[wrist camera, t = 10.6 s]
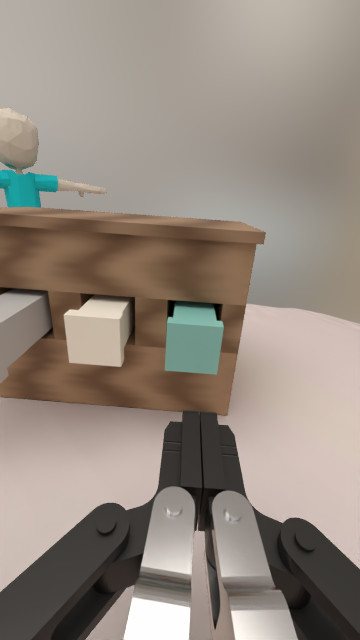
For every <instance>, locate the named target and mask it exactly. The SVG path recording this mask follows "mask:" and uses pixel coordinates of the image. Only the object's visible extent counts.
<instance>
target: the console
mask: <svg viewBox="0 0 360 640" xmlns="http://www.w3.org/2000/svg"><path fill="white" fill-rule="evenodd" d="M265 234H266V233H265V232H264V231H261V230H259V229H256V228H254V227H252V226H249V225H247V224H245V223H242V222H234V221H221V220H206V219H193V218H178V217H163V216H150V215H136V214H122V213H107V212H94V211H93V212H92V211H80V210H64V209H50V208H37V207H7V208H0V295H2V294H4V293H6V292H8V291H10V290H12V289H14V288H20V289H33V290H46V291H48V295H49V303H50V310H51V317H52V324H53V328H51V329H50V330H49V331H48V332H47V333H46V334H45V335H44V336H42V337H41V338H40V339H39V340H38V341H37V342H36V343H35V344H33V345H32V346H31V347H30V348H29V349H28V350H27V351H26V352H25V353H23V354H22V355H21V356H20V357H19V358H18V359H17V360H16V361H14V362H13V363H12V364H11V365H10V366H9V367H8V368H7V371H8V375H9V376H8V377H7V378H6V379H5V380H3V381H2V382H1V383H0V397H10V398H22V399H34V400H46V401H59V402H71V403H83V404H95V405H108V406H120V407H132V408H144V409H157V410H169V411H181V412H183V410H190V411H199V413H200V411H205V412H216V414H218V415H227V412H228V407H229V401H230V395H231V389H232V383H233V378H234V372H235V366H236V360H237V354H238V349H239V343H240V337H241V331H242V325H243V320H244V314H245V308H246V302H247V296H248V291H249V285H250V279H251V273H252V267H253V262H254V256H255V250H256V244H264V239H265ZM95 294H99V295H113V296H126V297H135V326H134V328H133V330H132V332H131V334H130V336H129V338H128V340H127V342H126V345H125V347H124V361H123V363H122V366H121V367H116V366H103V365H91V364H78V363H69V357H68V348H67V340H66V331H65V323H64V314H65V313H66V312H67V311H69V310H70V309H71V310H79V309H80V308H81V307H82V306H83V305H84V304H85V303H86V302H87V301H88V300H89V299H90V298H92V297H93V296H94V295H95ZM176 300H179V301H192V302H206V303H213V305H214V310H215V315H216V320H217V321H222V322H223V326H224V329H223V336H222V343H221V350H220V357H219V364H218V371H217V375H215V374H202V373H190V372H177V371H165V354H166V334H167V321H168V317H173V315H174V309H175V303H176Z"/></svg>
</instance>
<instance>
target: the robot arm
mask: <svg viewBox="0 0 360 640" xmlns="http://www.w3.org/2000/svg"><path fill="white" fill-rule="evenodd" d="M197 522H198V531H205V551H204V563H205V573H206V583H207V593H208V603H209V613H210V623H211V637H212V640H360V569H359V568H358V567H357V566H356V565H355V564H354V563H353V562H351V561H350V560H349V559H348V558H347V557H346V556H345V555H344V554H343V553H342V552H341V551H340V550H339V549H338V548H337V547H336V546H335V545H334V544H333V543H332V542H331V541H330V540H328V539H327V538H326V537H325V536H324V535H323V534H322V533H321V532H320V531H319V530H318V529H317V528H316V527H315V526H314V525H312V524H311V523H309V522H308V521H306V520H304V519H301V518H290V519H287V520H286V521H285V522H284V523H281V522H279V521H276V520H274V519H272V518H269V517H267V516H265V515H263V514H261V513H260V512H258V511H257V510H256V509H255V508H254V507H253V506H252V505H251V503H250V502H249V500H248V499H247V496H246V493H245V489H244V484H243V478H242V473H241V468H240V463H239V457H238V452H237V448H236V441H235V436H234V434H233V432H232V431H231V429H230V428H229V426H228V425H218V421H217V414H216V412H205V411H200V414H199V411H190V410H183V415H182V422H172V421H170V423H169V425H168V426H167V428H166V429H165V433H164V442H163V451H162V459H161V468H160V477H159V485H158V489H157V492H156V494H155V495H154V497H153V498H152V499H151V500H150V501H149V502H148V503H146V504H144V505H143V506H140V507H137V508H133V509H129V510H125V509H124V508H123V507H122V506H121V505H119V504H116V503H106V504H102V505H100V506H98V507H97V508H95V509H94V510H93V511H92V512H91V513H89V514H88V515H87V516H86V517H85V518H84V519H83V520H81V521H80V522H79V523H78V524H77V525H76V526H75V527H74V528H72V529H71V530H70V531H69V532H68V533H67V534H66V535H64V536H63V537H62V538H61V539H60V540H59V541H58V542H57V543H55V544H54V545H53V546H52V547H51V548H50V549H49V550H48V551H46V552H45V553H44V554H43V555H42V556H41V557H40V558H38V559H37V560H36V561H35V562H34V563H33V564H32V565H31V566H29V567H28V568H27V569H26V570H25V571H24V572H23V573H21V574H20V575H19V576H18V577H17V578H16V579H15V580H14V581H12V582H11V583H10V584H9V585H8V586H7V587H6V588H5V589H3V590H2V591H1V592H0V640H85V639H86V638H87V637H88V635H89V634H90V633H91V632H92V630H93V629H94V628H95V627H96V625H97V624H98V623H99V622H100V620H101V619H102V618H103V617H104V615H105V614H106V613H107V612H108V610H109V609H110V608H111V607H112V605H113V604H114V603H115V602H116V600H117V599H118V598H119V597H120V595H121V594H122V593H123V592H124V590H125V589H126V588H127V587H130V586H132V585H135V587H134V592H133V596H132V601H131V606H130V611H129V616H128V621H127V626H126V630H125V635H124V640H189V624H190V606H191V570H192V553H193V538H194V531H196V529H197Z"/></svg>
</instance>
